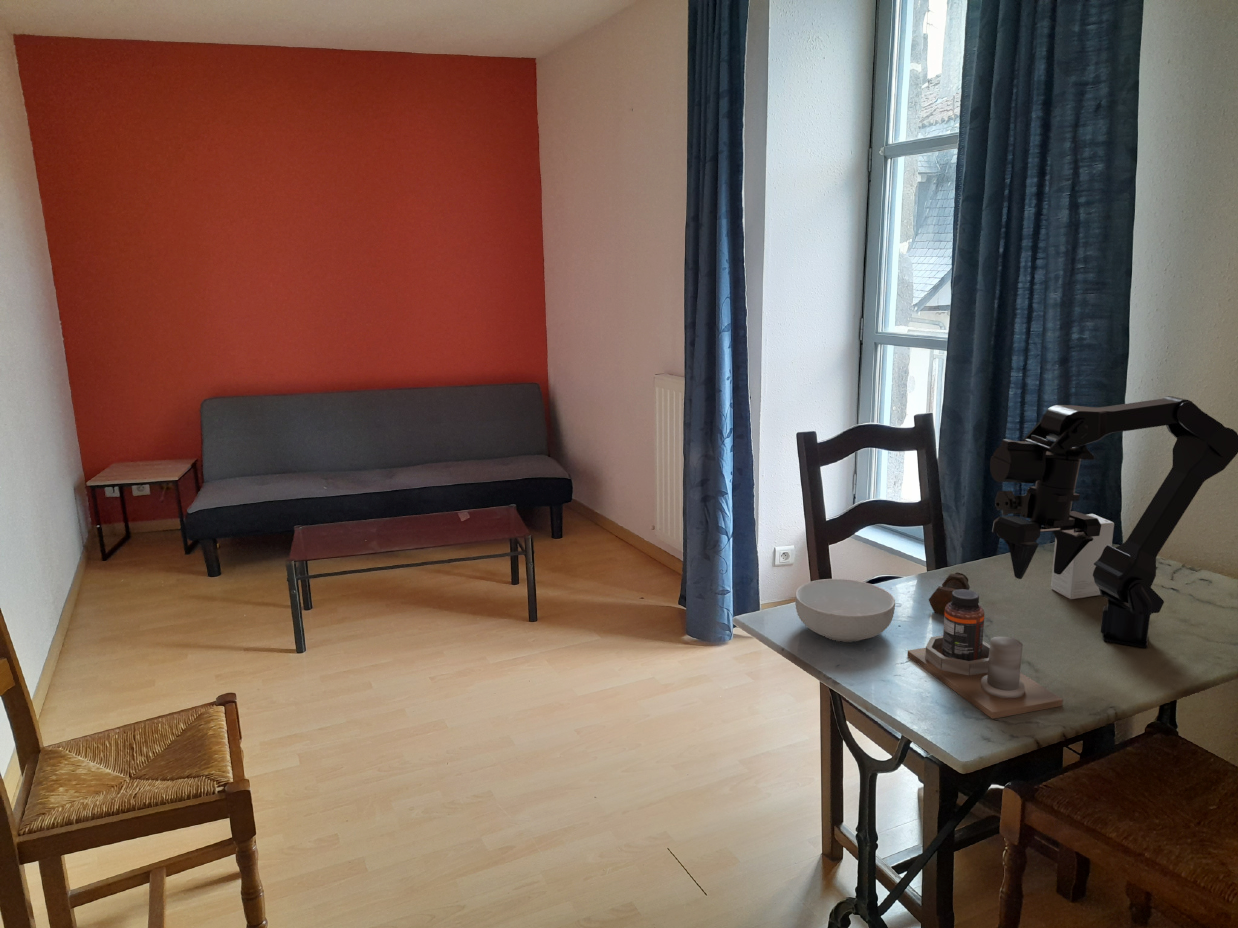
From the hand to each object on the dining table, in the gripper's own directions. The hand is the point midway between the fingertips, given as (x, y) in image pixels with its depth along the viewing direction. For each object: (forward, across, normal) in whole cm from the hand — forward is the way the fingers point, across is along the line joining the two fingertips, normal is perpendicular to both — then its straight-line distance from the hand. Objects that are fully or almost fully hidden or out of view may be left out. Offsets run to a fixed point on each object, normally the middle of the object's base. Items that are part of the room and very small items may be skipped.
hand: (1037, 575), depth 145 cm
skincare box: (+10, -28, -12) cm, 32 cm away
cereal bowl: (+16, +23, -18) cm, 33 cm away
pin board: (+14, +16, +5) cm, 21 cm away
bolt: (+13, -4, -20) cm, 24 cm away
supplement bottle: (+13, +15, 0) cm, 20 cm away
